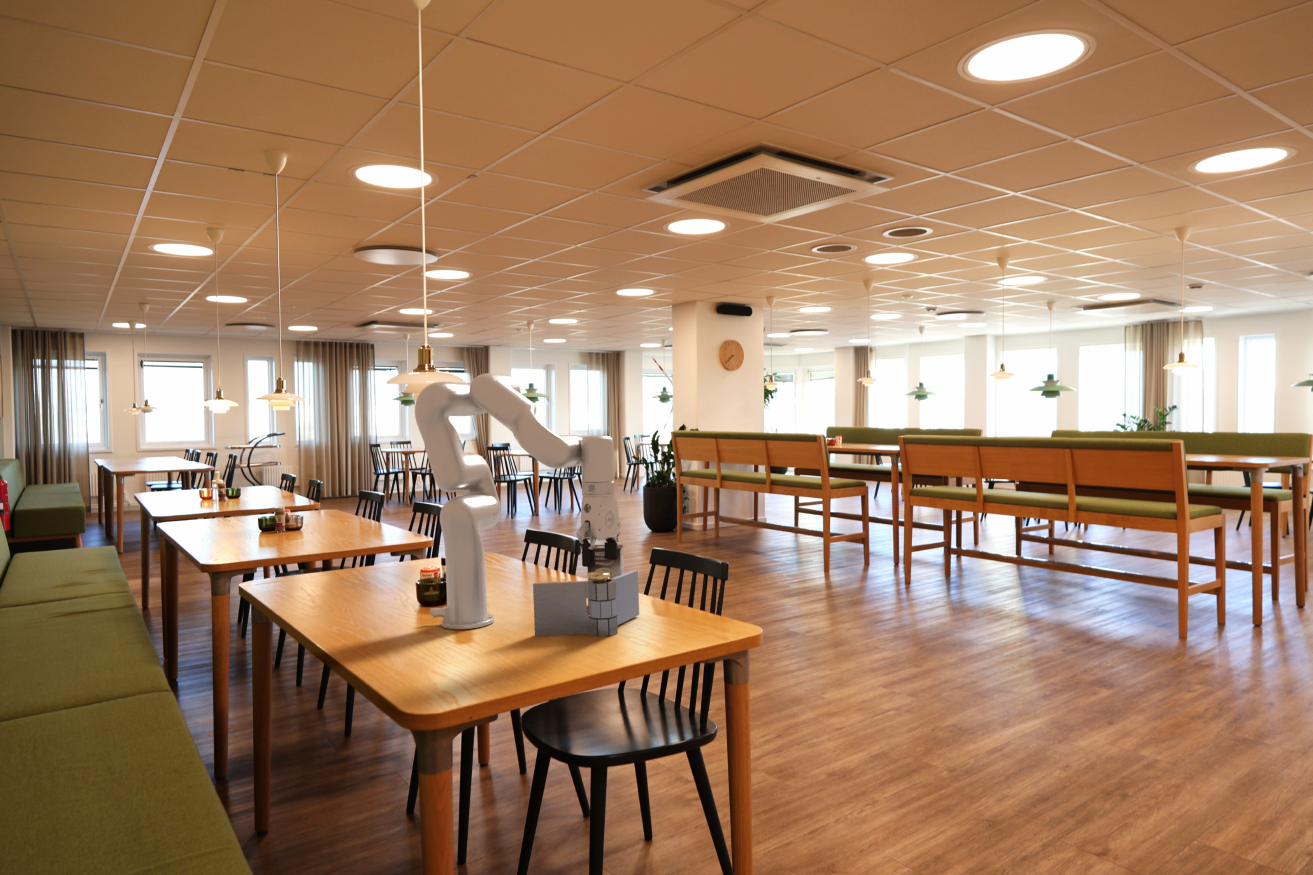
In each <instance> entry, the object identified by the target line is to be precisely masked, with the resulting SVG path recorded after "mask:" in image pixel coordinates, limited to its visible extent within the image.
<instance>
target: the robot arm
mask: <svg viewBox="0 0 1313 875" xmlns="http://www.w3.org/2000/svg"><path fill="white" fill-rule="evenodd" d="M536 413H537V406H536V404H535V403H534V402H533V401H532V400H530V399H529V398H528V397H526V396H525V395H523V394H522V392H521V386H520V385H519V383H518V381H516V379H514V378H513V377H512V376H509V375H507V374H501V373H500V374H499V373H491V372H490V373H488V372H487V373H486V372H485V373H482V374H479V375H478V376H475V377H474V378H473V379H472V380H471V382H456V381H436V382H433V383H430V384H428V385H426V386H425V387H424V388H423V389H422V390H421V391H420V392H419V394H418V396H417V398H416V401H415V405H414V418H415V421H416V425H417V428H418V430H419V433H420V436H421V438H422V442H423V444H424V448H425V451H426V455H427V458H428V461H429V465H430V469H431V472H432V475H433V478H434V482H435V484H436V486H437V487H438V489H439V490H440V491H443V492H446V493H455V492H462V495H459V496H455V497H453V498H451V499H448V500H447V501H446V502H445V503H444V504H443V506H442V507H441V509H440V514H439V523H440V527H441V528H440V529H441V533H442V537H443V543H444V557H445V558H444V559H445V560H444V561H445V580H446V582H445V584H446V604H447V605H446V606H443V607H441V608H440V607H439V608H438V607H434V608H433V607H431V608H430V611H429V615H430V617H433V618H443V619H442V620H441V626H442V627H443V628H445V629H448V630H471V629H478V628H481V627H485V626H486V627H487V626H488V625H491V624H493V623H494V619H495V616H494V615H493V614H491V613H488V603H487V602H488V600H487V598H488V596H487V573H486V569H487V568H486V553H485V552H486V550H485V546H484V542H483V539H482V536H481V533H480V532H482V531H485V530H486V531H487V530H489V529H491V528H493V527H494V526H496V525H497V523H498V522H499V521H500V518H501V515H502V507H501V501H500V498H499V495H498V492H497V488H496V484H495V481H494V478H493V474H492V471H491V468H490V465H489V464H488V463H487V461H486V460H485V459H484V458H483V457H482V455H480V454H478V453H475V452H465V451H464V449H463V446H462V443H461V440H460V436H459V433H458V432H457V430H456V428H455V426H454V425H453V424H452V423H451V421H450V419H449V418H450V417H469V416H476V415H481V414H488V415H490V416H491V417H493V418H494V419H495V420H496V421H498V422H499V423H501V425H503V426H505V428H507V429H508V430H509V431H511V433H512V435H513V437H514V438H515V440H516V442H517V443H518V445H519V446H520V447H521V448H522V449H523V450H524V451H525V452H526V453H527V454H528V455H530V456H531V457H533V458H534V459H535V460H537V461H538V462H539V463H541V464H543V465H544V466H546V467H548V468H550V469H565V468H573V467H574V468H575V467H579V466H580V467H581V496H582V499H581V500H582V501H581V506H580V507H581V509H580V510H581V511H580V527H579V528H578V530H577V531H576V537H577V540H578V541H577V543H578V545H579V548H580V550H581V565H582V567H583V568H588V567H595V549H593V547H594V545H596V541H597V540H598V541H603V540H605V541H606V542H604V543H603V545H605V559H607V560H617V558H618V557H617V545H618V542H619V536H620V529H621V521H620V516H619V515H620V514H619V506H618V500H617V496H616V491H615V490H616V486H615V484H616V483H615V448H614V447H615V444H614V439H613V438H612V437H611V436H609V435H588V436H587V435H585V436H583V435H578V434H565V435H564V434H562V435H561V434H560V435H559V434H558V435H557V434H556V433H555V432H553V431H552V430H550V429H549V428H548V427H546V426H545V425H543V424H542V422H540V421H539V420H538V419H537V418H536Z"/></svg>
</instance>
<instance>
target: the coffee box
mask: <svg viewBox="0 0 1313 875" xmlns="http://www.w3.org/2000/svg"><path fill="white" fill-rule="evenodd" d="M593 549H595V567H587V574H588V573H591V572H598V571H605V572H609V573H610V578H614V577H617V576H620V575H623V574H625V571H624V570H625V569H624V568H625V567H624V565H625V564H624V545H623V544H617V557H618V558H617V560H607V559H605V544H594V547H593Z"/></svg>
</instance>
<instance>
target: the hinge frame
mask: <svg viewBox="0 0 1313 875" xmlns="http://www.w3.org/2000/svg"><path fill="white" fill-rule="evenodd" d="M532 588H533V589H532V593H533V597H532V598H533V620H534V622H533V624H534V636H535V637H547V636H570V635H572V636H573V635H574V636H575V635H590V636H594V637H610V636H614V635H617V634H618V633H619V629H618V628H619V627H618V626H619V625H618V623H617V615H616V616H614V617H611V618H603V619H598V618H592V617H590V616H589V615H588V606H587V605H588V603H587V600H588V599H591V600H610V599H614V598H616V596H617V594H616V579H612V578H610V579H608V580H606V583H595V582H593V581H591V580H588V579H587V580H577V581H555V582H534V583H532Z"/></svg>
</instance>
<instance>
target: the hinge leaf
mask: <svg viewBox="0 0 1313 875" xmlns="http://www.w3.org/2000/svg"><path fill="white" fill-rule="evenodd" d="M612 579H616V594H617V596H616V598H614V599H610V600H604V601H597V600H591V599H588V598H587V605H588V606H587V613H588V616H590V617H592V618H611V617H614V616H616V615H617V623H618V626H619V625H621V624H623V623H625V622H628V621H629V620H631V619H633V618H634V619H635V618H636V617H638V616H640V596H639V571H638V570H632V571H629V572H624V574H623V575H620V576H617V577H614V578H612Z"/></svg>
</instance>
